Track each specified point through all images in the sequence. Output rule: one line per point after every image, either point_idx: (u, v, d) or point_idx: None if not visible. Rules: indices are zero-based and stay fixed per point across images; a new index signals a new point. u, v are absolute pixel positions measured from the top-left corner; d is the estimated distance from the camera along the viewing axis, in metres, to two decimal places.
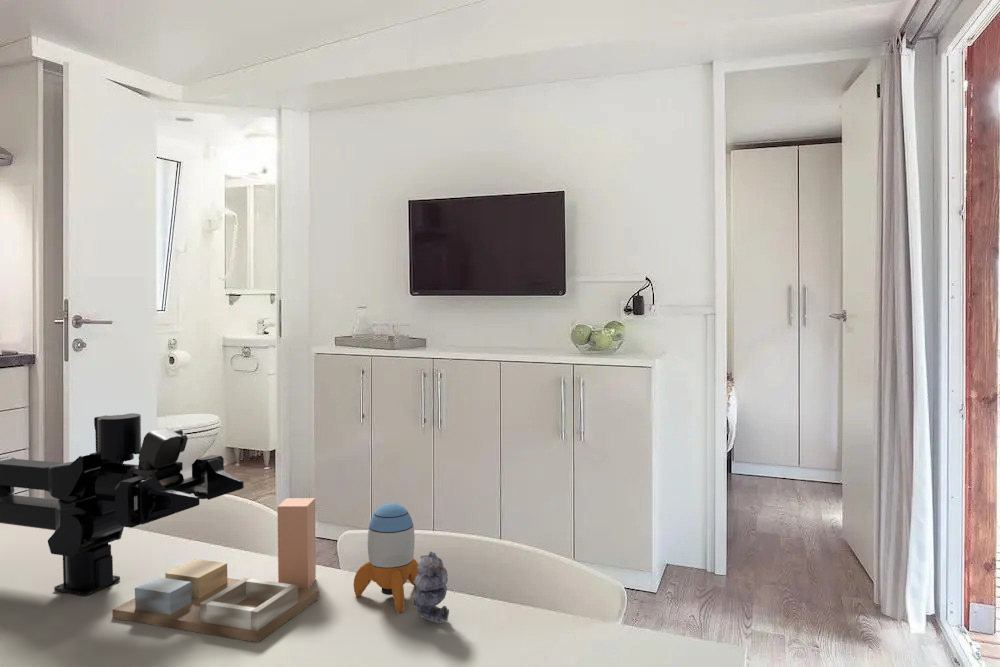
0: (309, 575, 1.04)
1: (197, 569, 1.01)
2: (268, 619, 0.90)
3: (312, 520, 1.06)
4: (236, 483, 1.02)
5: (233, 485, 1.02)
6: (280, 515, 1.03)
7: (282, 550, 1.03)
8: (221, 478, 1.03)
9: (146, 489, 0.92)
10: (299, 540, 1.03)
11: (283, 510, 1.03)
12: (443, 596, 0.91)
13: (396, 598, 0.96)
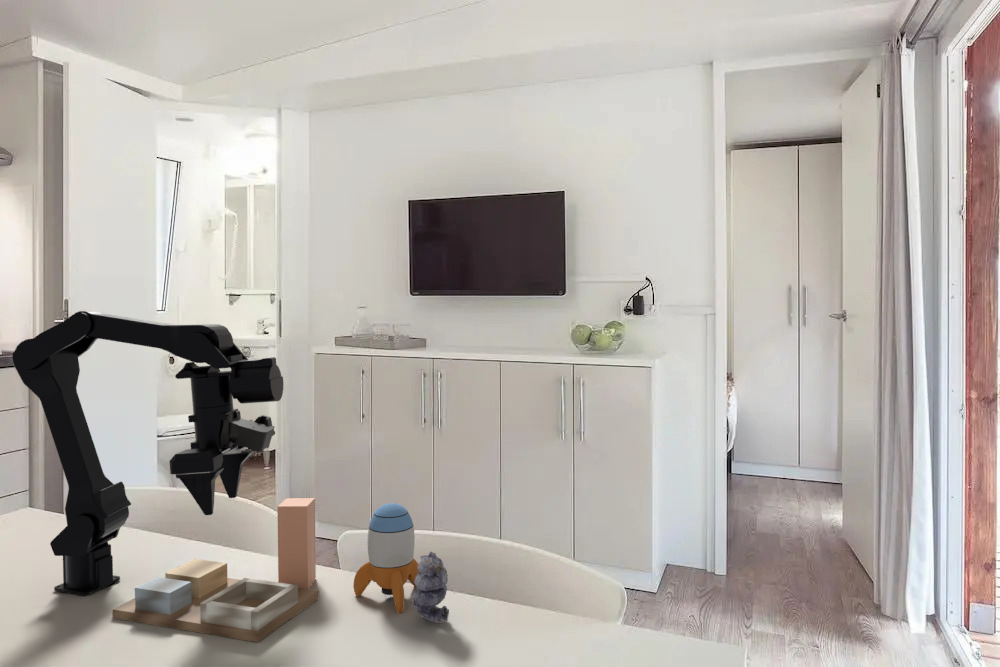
0: (309, 575, 1.04)
1: (197, 569, 1.01)
2: (268, 619, 0.90)
3: (312, 520, 1.06)
4: (233, 492, 1.09)
5: (230, 488, 1.09)
6: (280, 515, 1.03)
7: (282, 550, 1.03)
8: (235, 473, 1.09)
9: None
10: (299, 540, 1.03)
11: (283, 510, 1.03)
12: (443, 596, 0.91)
13: (396, 598, 0.96)
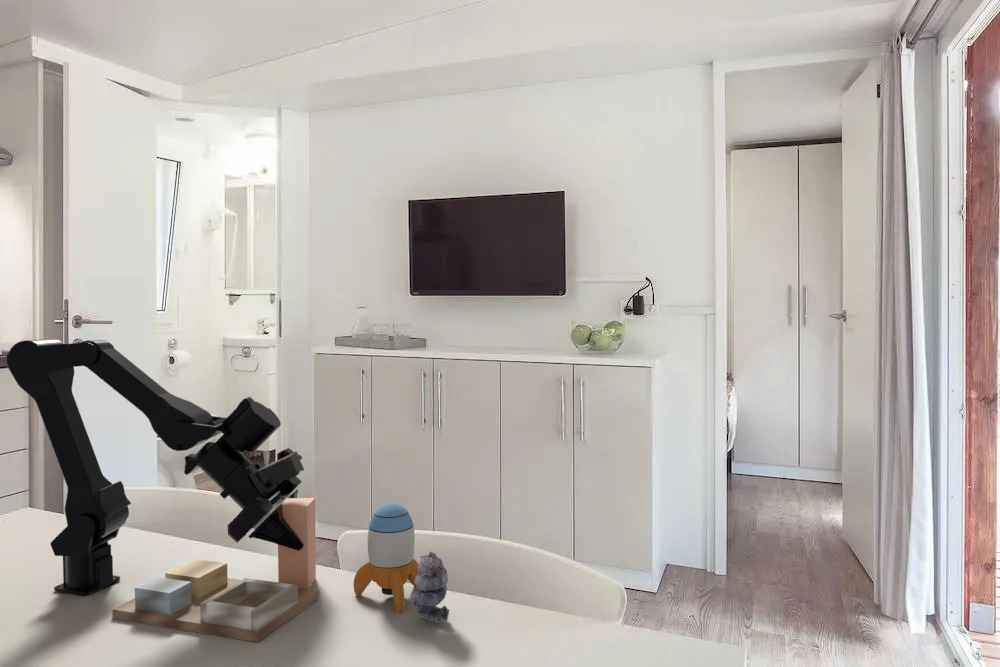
0: (309, 575, 1.04)
1: (197, 569, 1.01)
2: (268, 619, 0.90)
3: (312, 520, 1.06)
4: None
5: None
6: None
7: (282, 550, 1.03)
8: None
9: (274, 515, 1.00)
10: None
11: (283, 510, 1.03)
12: (443, 596, 0.91)
13: (396, 598, 0.96)
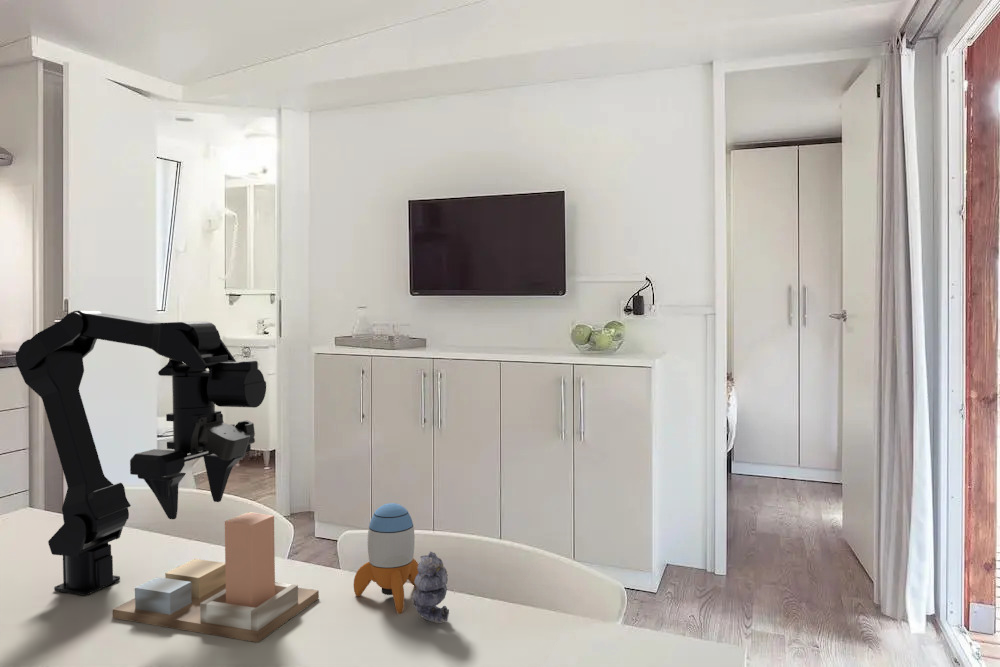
0: (256, 604, 0.91)
1: (197, 569, 1.01)
2: (268, 619, 0.90)
3: (266, 541, 0.93)
4: (217, 496, 1.05)
5: (215, 492, 1.05)
6: (227, 531, 0.92)
7: (229, 571, 0.92)
8: (221, 477, 1.05)
9: None
10: (243, 562, 0.91)
11: (230, 526, 0.91)
12: (443, 596, 0.91)
13: (396, 598, 0.96)
